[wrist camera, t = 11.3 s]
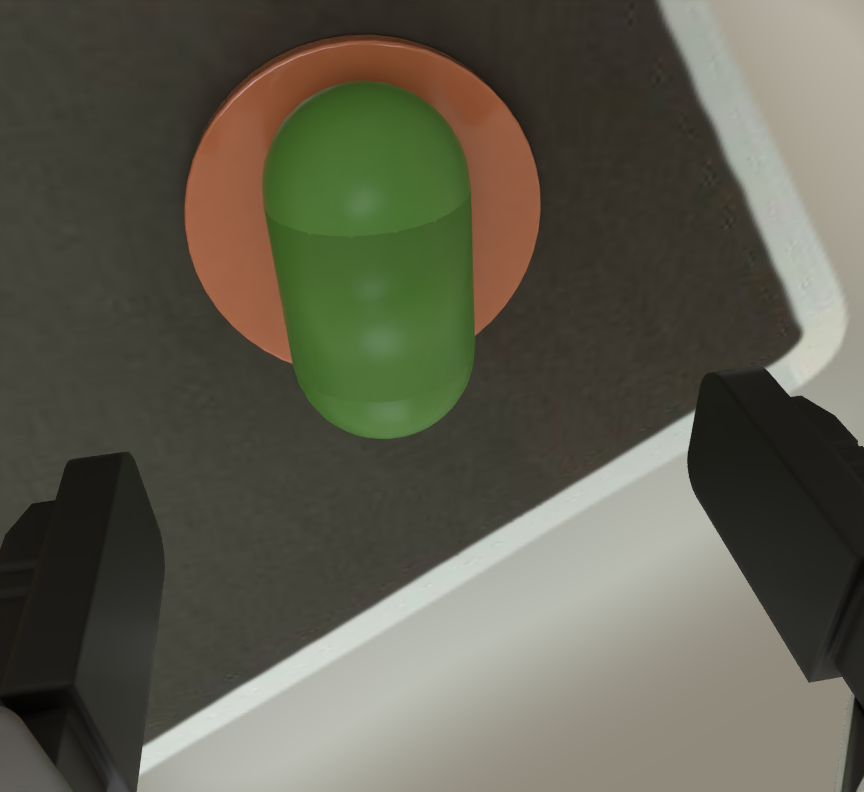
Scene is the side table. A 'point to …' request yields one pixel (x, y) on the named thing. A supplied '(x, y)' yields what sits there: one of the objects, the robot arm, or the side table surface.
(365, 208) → the cucumber
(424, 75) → the plate
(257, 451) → the side table surface
